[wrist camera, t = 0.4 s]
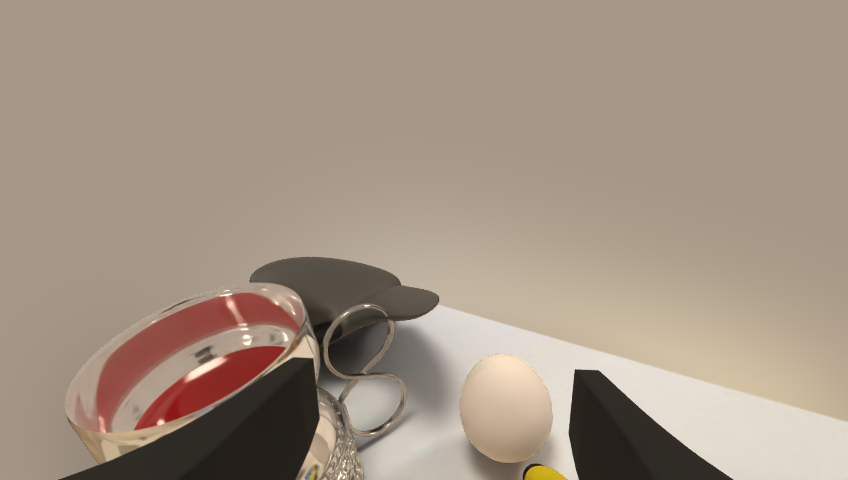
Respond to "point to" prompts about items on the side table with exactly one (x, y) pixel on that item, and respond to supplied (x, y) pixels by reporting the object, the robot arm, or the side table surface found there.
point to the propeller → (345, 293)
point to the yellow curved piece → (541, 473)
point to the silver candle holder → (213, 374)
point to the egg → (505, 409)
